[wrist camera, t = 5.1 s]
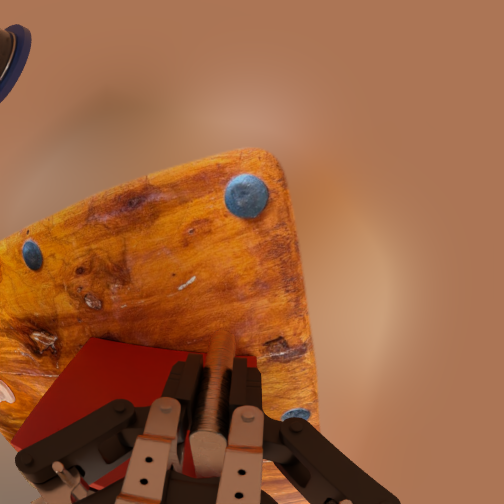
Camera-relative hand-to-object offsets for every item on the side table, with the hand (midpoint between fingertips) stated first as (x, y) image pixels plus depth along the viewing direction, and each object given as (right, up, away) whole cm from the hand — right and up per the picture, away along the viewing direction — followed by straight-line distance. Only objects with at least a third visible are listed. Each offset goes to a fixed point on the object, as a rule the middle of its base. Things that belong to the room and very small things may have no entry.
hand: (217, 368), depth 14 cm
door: (-6, 0, +9) cm, 10 cm away
